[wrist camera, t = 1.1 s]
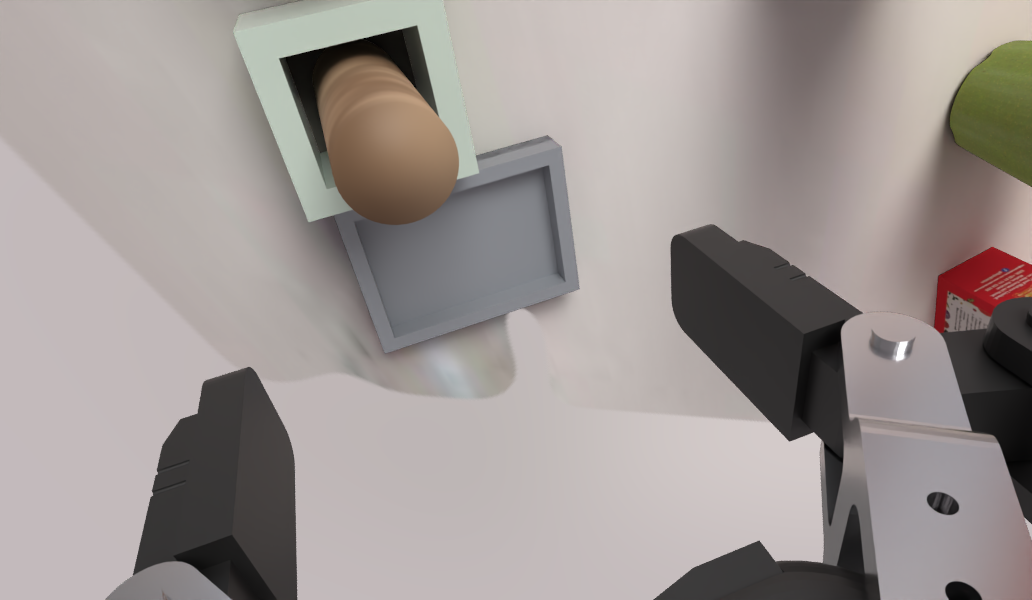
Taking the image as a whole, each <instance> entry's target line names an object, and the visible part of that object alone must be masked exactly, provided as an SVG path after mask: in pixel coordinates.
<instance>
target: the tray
mask: <svg viewBox="0 0 1032 600" xmlns="http://www.w3.org/2000/svg"><path fill="white" fill-rule="evenodd" d="M476 159H477V164H478V169H479V173H478V174H475V175H471V176H468V177H464V178H461V179H457V180H456V183H455V186H454V188H453V190H452V192H451V194H450V195H449V197H448V198H447V200H446V201H445V202H444V203H443V204H442V205H441V207H439V208H438V209H437V210H436V211H435V212H433V213H432V214H430V215H429V216H427V217H425V218H423V219H421V220H419V221H416V222H413V223H409V224H402V225H387V224H381V223H377V222H374V221H371V220H369V219H366V218H365V217H363V216H361V215H359V214H358V213H357V212H355V211H354V210H350V211H346V212H343V213H340V214H336V215H334V218H335V221H336V223H337V226H338V229H339V231H340V234H341V237H342V240H343V242H344V245H345V248H346V250H347V253H348V256H349V258H350V261H351V264H352V267H353V269H354V272H355V275H356V277H357V280H358V283H359V285H360V288H361V291H362V294H363V296H364V299H365V302H366V304H367V307H368V310H369V312H370V315H371V318H372V321H373V323H374V326H375V329H376V331H377V334H378V337H379V339H380V342H381V345H382V348H383V350H384V353H385V354H386V353H389V352H392V351H395V350H398V349H401V348H404V347H407V346H410V345H413V344H416V343H419V342H422V341H425V340H428V339H431V338H434V337H437V336H440V335H443V334H446V333H449V332H452V331H455V330H458V329H461V328H464V327H467V326H470V325H473V324H476V323H479V322H482V321H485V320H488V319H491V318H494V317H497V316H500V315H503V314H506V313H509V312H512V311H515V310H518V309H521V308H524V307H527V306H530V305H533V304H536V303H539V302H542V301H545V300H548V299H551V298H554V297H557V296H560V295H563V294H566V293H569V292H572V291H575V290H578V289H580V288H579V280H578V272H577V265H576V257H575V249H574V241H573V233H572V225H571V217H570V210H569V202H568V194H567V186H566V178H565V170H564V162H563V155H562V147H561V146H560V145H559V144H558V143H557V142H555V141H554V140H553V139H552V138H550V137H549V136H548V135H547V136H544V137H540V138H537V139H533V140H530V141H526V142H523V143H519V144H516V145H512V146H508V147H505V148H501V149H498V150H494V151H491V152H487V153H484V154H480V155H477V156H476Z"/></svg>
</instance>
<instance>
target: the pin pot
mask: <svg viewBox="0 0 1032 600" xmlns="http://www.w3.org/2000/svg"><path fill="white" fill-rule="evenodd" d="M399 29H402V32H403V35H404V39H405V43H406V47H407V51H408V55H409V59H410V63H411V67H412V71H413V75H414V79H415V83H416V87H417V91H418V92H419V93H420V95H421V96H422V97H423V98H424V100H425V101H426V102H427V103H428V104H429V106H430V107H431V108H432V109H433V111H434V112H435V113H436V114H437V116H438V117H439V118H440V119H441V120H442V122H443V123H444V124H445V125H446V127H447V128H448V129H449V131H450V132H451V134H452V136H453V138H454V140H455V143H456V146H457V149H458V155H459V171H458V176H457V179H461V178H464V177H468V176H471V175H475V174H478V173H479V169H478V164H477V159H476V155H475V150H474V145H473V140H472V136H471V131H470V126H469V121H468V117H467V112H466V107H465V103H464V98H463V93H462V88H461V84H460V79H459V74H458V69H457V65H456V60H455V55H454V51H453V46H452V41H451V36H450V32H449V27H448V22H447V17H446V13H445V8H444V3H443V0H301V1H297V2H292V3H288V4H283V5H279V6H275V7H270V8H266V9H261V10H257V11H252V12H248V13H244V14H239V17H238V19H237V22H236V25H235V28H234V31H233V34H234V36H235V39H236V41H237V44H238V46H239V49H240V51H241V54H242V56H243V59H244V61H245V64H246V67H247V69H248V72H249V74H250V77H251V79H252V82H253V84H254V87H255V89H256V92H257V94H258V97H259V99H260V102H261V104H262V107H263V109H264V112H265V114H266V117H267V119H268V122H269V124H270V127H271V129H272V132H273V134H274V137H275V139H276V142H277V144H278V147H279V149H280V152H281V154H282V157H283V159H284V162H285V164H286V167H287V169H288V172H289V174H290V177H291V179H292V182H293V184H294V187H295V189H296V192H297V194H298V197H299V199H300V202H301V204H302V207H303V209H304V212H305V214H306V217H307V219H308V222H312V221H315V220H319V219H322V218H326V217H329V216H333V215H336V214H340V213H343V212H346V211H350V210H353V209H352V208H351V207H350V206H349V205H348V204H347V203H346V202H345V201H344V200H343V198H342V197H341V195H340V193H339V192H338V189H337V187H336V185H335V182H334V178H333V174H332V169H331V165H330V161H329V156H328V152H327V151H326V152H322V153H320V152H319V149H318V146H317V144H316V141H315V138H314V135H313V132H312V130H311V127H310V124H309V121H308V119H307V116H306V113H305V110H304V108H303V105H302V102H301V99H300V96H299V94H298V91H297V88H296V85H295V83H294V80H293V77H292V74H291V72H290V69H289V66H288V63H287V60H286V58H285V57H287V56H291V55H295V54H300V53H304V52H308V51H312V50H316V49H320V48H325V47H329V46H333V45H337V44H341V43H345V42H349V41H354V40H358V39H362V38H366V37H370V36H374V35H379V34H383V33H387V32H391V31H395V30H399Z"/></svg>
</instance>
